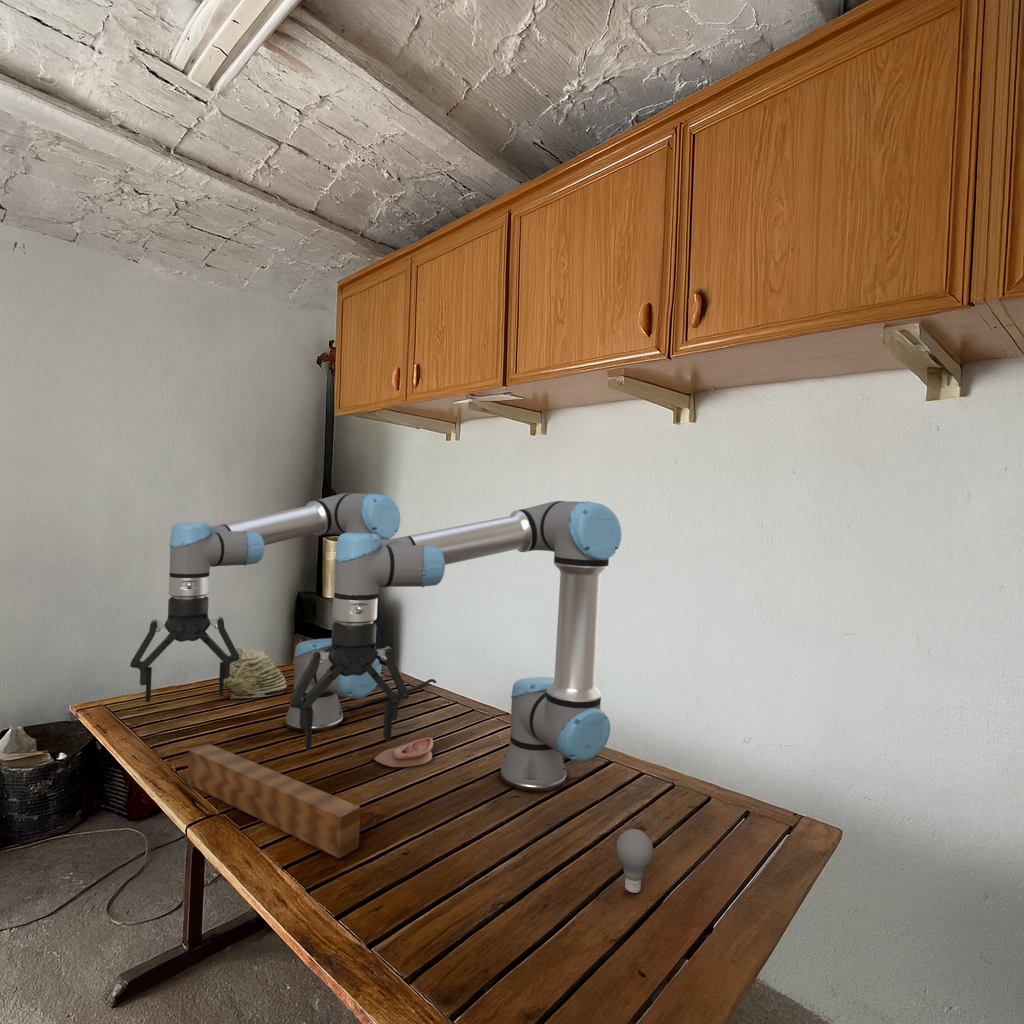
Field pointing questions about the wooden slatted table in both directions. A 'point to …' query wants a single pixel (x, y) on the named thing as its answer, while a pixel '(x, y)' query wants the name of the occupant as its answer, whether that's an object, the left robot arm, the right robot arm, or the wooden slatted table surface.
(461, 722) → the wooden slatted table surface
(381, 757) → the beige rounded piece
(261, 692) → the fossil
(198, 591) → the left robot arm
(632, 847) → the light bulb
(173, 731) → the wooden slatted table surface
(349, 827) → the beam
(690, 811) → the wooden slatted table surface
